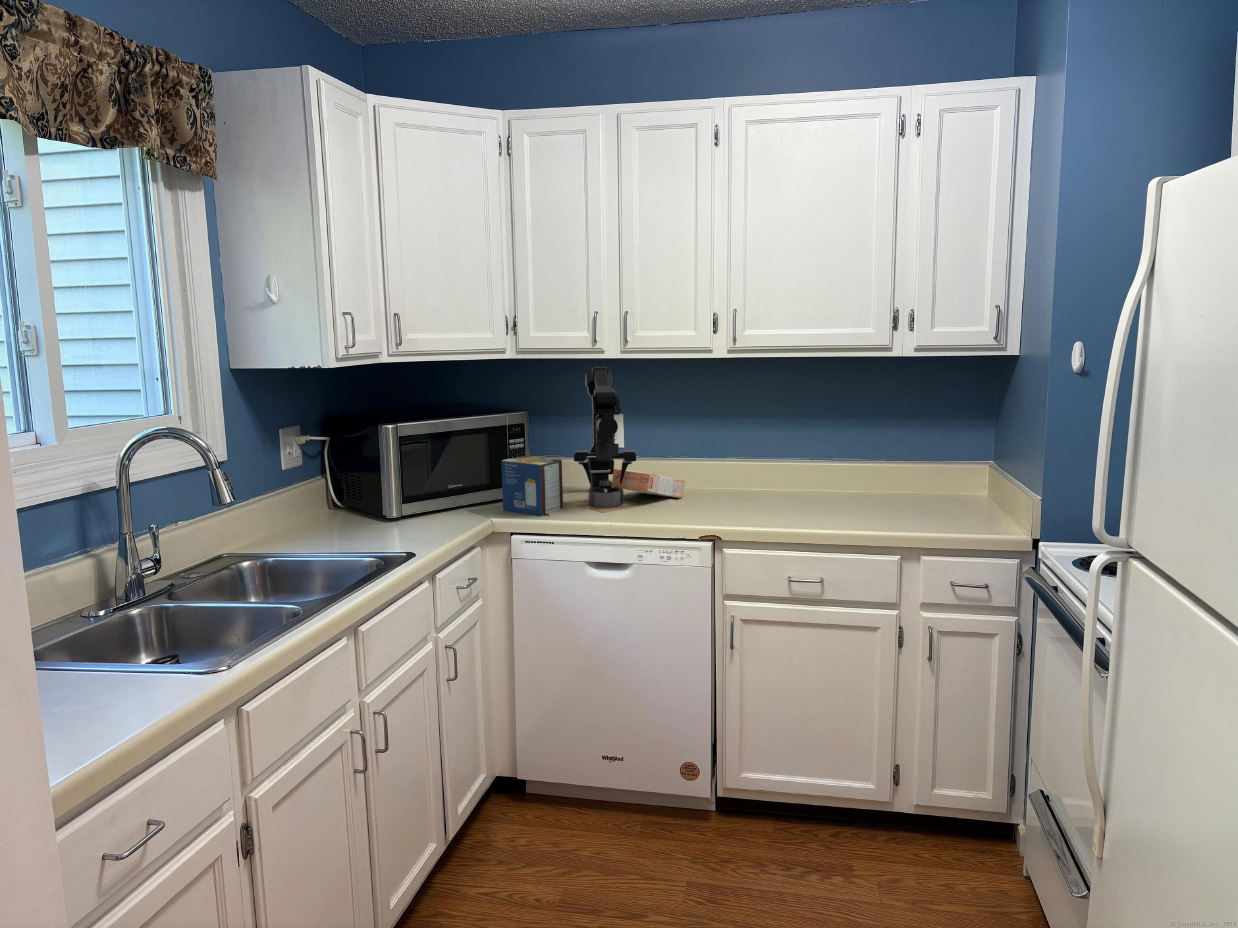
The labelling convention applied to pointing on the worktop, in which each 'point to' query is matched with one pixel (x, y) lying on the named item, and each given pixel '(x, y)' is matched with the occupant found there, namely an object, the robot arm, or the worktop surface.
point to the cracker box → (648, 483)
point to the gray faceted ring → (605, 497)
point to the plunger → (605, 484)
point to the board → (585, 504)
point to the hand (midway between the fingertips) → (605, 483)
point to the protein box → (532, 485)
